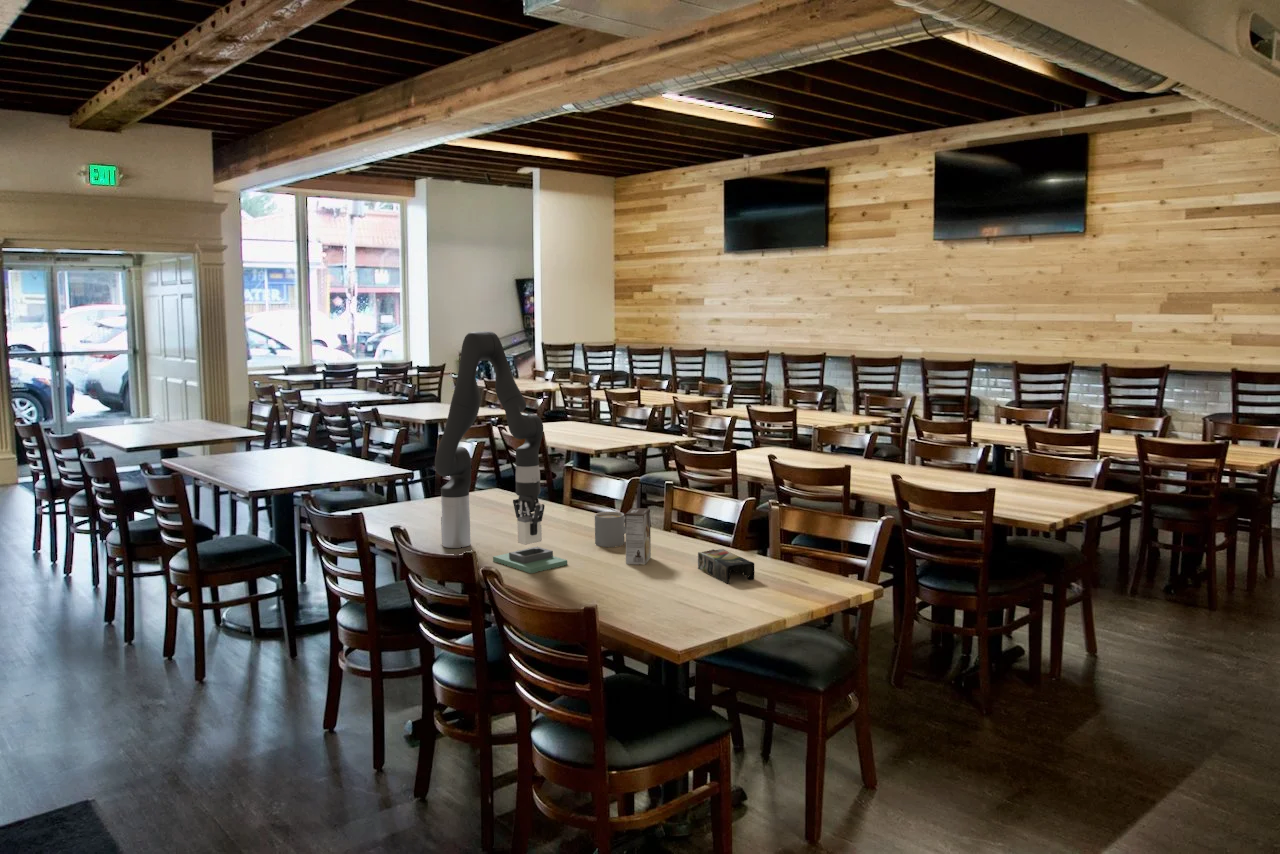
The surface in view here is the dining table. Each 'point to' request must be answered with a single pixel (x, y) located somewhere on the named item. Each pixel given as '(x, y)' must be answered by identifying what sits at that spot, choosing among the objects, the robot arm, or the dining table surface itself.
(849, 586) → the dining table surface
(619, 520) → the coffee mug
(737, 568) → the juice carton
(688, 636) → the dining table surface
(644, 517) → the coffee box
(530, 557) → the header board
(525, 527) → the plug
